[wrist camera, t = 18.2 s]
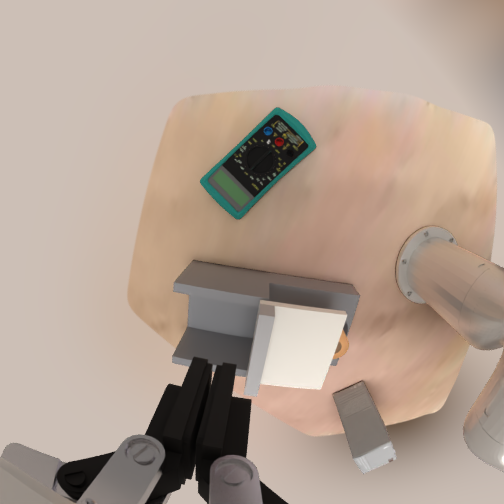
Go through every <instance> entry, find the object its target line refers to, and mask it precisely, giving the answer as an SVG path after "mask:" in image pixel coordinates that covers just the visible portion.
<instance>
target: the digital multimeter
mask: <svg viewBox="0 0 504 504" xmlns="http://www.w3.org/2000/svg"><path fill="white" fill-rule="evenodd" d="M283 119H284V120H283ZM266 122H267V123H266ZM303 139H304V140H303ZM268 147H269V148H268ZM315 148H316V144H315V142H314V140H313V139H312V137H311V135H310V134H309V132H308V131H307V130H306V128H305V127H304V126H303V125H302V124H301V123H300V122H299V121H298V120H297V119H296V118H294V117H293V116H292V115H290V114H289V113H287V112H285V111H284V110H282V109H280V108H275V109H274V110H273V111H272V112H271V113H270V114H268V115H267V116H266V117H265V118H264V119H263V120H262V121H261V122H260V123H259V124H258V125H257V126H256V127H255V128H254V129H253V130H252V131H251V132H250V133H249V134H248V135H247V136H246V137H245V138H244V139H243V140H242V141H241V142H240V143H239V144H238V145H237V146H236V147H235V148H233V149H232V150H231V151H230V152H229V153H228V154H227V155H226V156H225V157H224V158H223V159H222V160H221V161H220V162H219V163H217V164H216V165H215V166H214V167H213V168H212V169H211V170H210V171H209V172H208V173H207V174H206V175H205V176H204V177H202V178H201V180H200V183H201V185H202V186H203V187H204V188H205V189H206V191H207V192H208V193H209V194H210V195H211V196H212V197H213V199H214V200H215V201H216V202H217V203H218V204H219V205H220V206H221V207H223V208H224V209H225V210H226V211H227V212H228V213H229V214H231V215H232V216H233V217H234V218H235V219H241V218H242V217H243V216H244V215H245V214H246V212H247V211H248V210H249V209H250V208H251V207H252V206H253V205H254V204H255V203H256V202H257V201H258V200H259V199H260V198H261V197H262V196H263V195H264V194H265V193H266V192H267V191H268V190H269V189H270V188H271V187H272V186H273V185H274V184H275V183H276V182H277V181H278V180H279V179H280V178H281V177H283V176H284V175H285V174H286V173H287V172H288V171H289V170H291V169H292V168H293V167H294V166H295V165H296V164H297V163H299V162H300V161H301V160H302V159H303V158H304V157H306V156H307V155H308V154H309V153H311V152H312V151H313V150H314V149H315ZM299 155H300V156H299ZM287 166H288V167H287ZM234 208H235V209H236V210H237V211H236V210H235V209H234Z"/></svg>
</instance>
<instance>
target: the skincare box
mask: <svg viewBox="0 0 504 504" xmlns="http://www.w3.org/2000/svg"><path fill="white" fill-rule="evenodd" d="M333 397H334V400H335V403H336V406H337V409H338V412H339V415H340V418H341V421H342V424H343V427H344V431H345V434H346V437H347V440H348V443H349V447H350V450H351V453H352V456H353V459H354V461H355V463H356V465H357V466H358V468H359V469H360V470H361V472H362V473H363V474H364V473H366V472H369V471H371V470H373V469H375V468H378V467H380V466H382V465H384V464H387V463H389V462H391V461H393V460H395V459H396V458H397V457H396V454H395V452H396V451H395V450H394V448H393V445H392V442H391V439H390V437H389V434H388V431H387V429H386V426H385V424H384V422H383V420H382V418H381V416H380V414H379V412H378V410H377V408H376V405H375V403H374V401H373V399H372V397H371V395H370V393H369V391H368V389H367V387H366V385H365V383H364V382H363V381H361V382H359V383H357V384H355V385H353V386H351V387H349V388H347V389H344V390H342V391H340V392H337V393H334V394H333Z"/></svg>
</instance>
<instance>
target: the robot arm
mask: <svg viewBox="0 0 504 504" xmlns="http://www.w3.org/2000/svg"><path fill="white" fill-rule="evenodd" d="M402 260H403V261H402ZM396 280H397V284H398V286H399V289H400V291H401V292H402V293H403V295H404V296H405V297H406V298H408V299H409V300H410V301H412V302H415V303H420V304H424V303H427V304H428V305H430V306H431V307H432V308H433V309H434V310H435V311H436V312H437V313H438V314H439V315H440V316H441V317H442V318H443V319H444V320H445V321H446V322H447V323H449V324H450V325H451V326H452V327H453V328H454V329H455V330H456V331H457V332H458V333H459V334H460V335H461V336H462V337H463V338H464V339H465V340H466V341H467V342H468V343H469V344H470V345H472V346H473V347H475V348H477V349H480V350H494V349H497V348H501V347H504V268H503V267H500V266H498V265H496V264H494V263H492V262H490V261H488V260H486V259H484V258H482V257H480V256H478V255H476V254H474V253H472V252H470V251H468V250H466V249H464V248H462V247H459V246H458V244H457V242H456V240H455V238H454V237H453V235H452V234H451V233H450V232H449V231H447V230H446V229H443V228H441V227H437V226H428V227H424V228H422V229H420V230H418V231H416V232H415V233H414V234H412V235H411V236H410V238H409V239H408V240H407V241H406V242H405V244H404V245H403V247H402V249H401V251H400V253H399V256H398V260H397V264H396ZM236 367H237V364H231V363H225V362H223V364H222V365H217V366H216V369H215V373H214V377H213V380H212V384H211V379H212V368H213V364H211V363H208V359H204V358H199V357H193V359H192V362H191V364H190V367H189V369H188V372H187V374H186V377H185V379H184V382H183V384H182V387H181V386H177V385H173V384H168V386H167V387H166V389H165V391H164V394H163V396H162V398H161V400H160V402H159V405H158V407H157V409H156V411H155V414H154V416H153V418H152V420H151V422H150V424H149V427H148V429H147V431H146V433H145V435H133V436H131V437H128V438H127V439H126V440H124V441H123V442H122V444H121V445H120V446H119V448H118V449H117V450H116V451H115V452H112V453H108V454H104V455H100V456H95V457H91V458H87V459H82V460H77V461H72V462H68V463H65V462H62V461H61V460H60V459H58V458H55V457H52V456H49V455H47V454H44V453H41V452H39V451H36V450H33V449H31V448H28V447H26V446H24V445H21V444H18V443H11V444H9V445H7V446H6V447H5V449H4V451H3V454H2V456H1V457H0V504H166V503H167V501H168V500H169V497H170V496H171V493H172V492H174V491H176V490H179V489H180V488H181V484H185V481H186V479H192V476H193V471H194V467H195V464H196V481H198V493H199V494H200V496H201V497H202V498H203V499H204V500H205V501H206V502H207V504H288V503H287V502H285V501H284V500H283V499H281V498H280V497H279V496H278V495H277V494H276V493H274V492H273V491H272V490H271V489H269V488H268V487H267V486H266V485H265V484H263V483H262V482H261V481H260V480H259V474H258V470H257V467H256V466H255V465H254V464H253V462H251V461H250V460H248V459H247V458H246V453H247V444H248V433H249V423H250V412H251V399H245V398H238V397H232V392H233V386H234V380H235V374H236ZM463 435H464V440H465V442H466V444H467V446H468V448H469V449H470V450H471V452H472V453H473V454H474V455H475V456H477V457H478V458H479V459H480V460H482V461H483V462H485V463H487V464H489V465H490V466H492V467H494V468H496V469H498V470H500V471H502V472H504V349H503V353H502V356H501V358H500V360H499V362H498V364H497V367H496V369H495V371H494V372H493V374H492V376H491V377H490V379H489V381H488V382H487V384H486V386H485V387H484V389H483V390H482V392H481V393H480V395H479V397H478V398H477V400H476V401H475V403H474V404H473V406H472V408H471V409H470V411H469V413H468V414H467V417H466V419H465V422H464V426H463Z"/></svg>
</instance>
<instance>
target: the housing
mask: <svg viewBox="0 0 504 504" xmlns="http://www.w3.org/2000/svg"><path fill="white" fill-rule="evenodd" d="M173 292H177V293H182V294H188V295H189V309H188V327H187V329H186V331H185V333H184V335H183V337H182V338H181V340H180V342H179V344H178V346H177V348H176V350H175V352H174V354H173V356H172V357H173V359H172V362H173V363H175V364H180V365H185V366H189V367H190V364H191V362H192V359H193V357H199V358H204V359H208V363H211V364H213V368H212V371H213V372H215V369H216V366H217V365H222V364H223V362H225V363H231V364H237V367H236V374H235V375H236V376H242V377H246V375H247V369H248V364H249V359H250V353H251V348H252V343H253V337H254V332H255V326H256V321H257V315H258V309H259V304H260V300H266V301H272V302H279V303H286V304H293V305H300V306H308V307H315V308H323V309H331V310H340V311H345V312H346V313H347V318H346V321H345V324H344V327H343V330H342V333H341V336H340V339H339V342H338V345H337V348H336V350H335V353H334V356H333V359H332V361H331V364H330V365H333V366H336V365H337V362H338V360H339V357H341V356H343V355H344V354H345V353H346V352H347V350H348V347H349V342H348V339H347V335H348V332H349V329H350V326H351V323H352V320H353V317H354V314H355V311H356V308H357V304H358V301H359V298H360V295H359V293H358V292H357V291H356V289H355V288H354V286H353V285H351V284H344V283H337V282H330V281H323V280H316V279H309V278H303V277H296V276H289V275H283V274H276V273H270V272H264V271H257V270H251V269H245V268H238V267H232V266H226V265H220V264H214V263H208V262H202V261H196V260H193V261H192V262H191V263H190V264H189V265H188V267H187V268H186V269H185V270H184V271H183V272H182V273H181V275H180V276H179V277H178V278H177V279H176V280H175V282H174V290H173Z"/></svg>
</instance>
